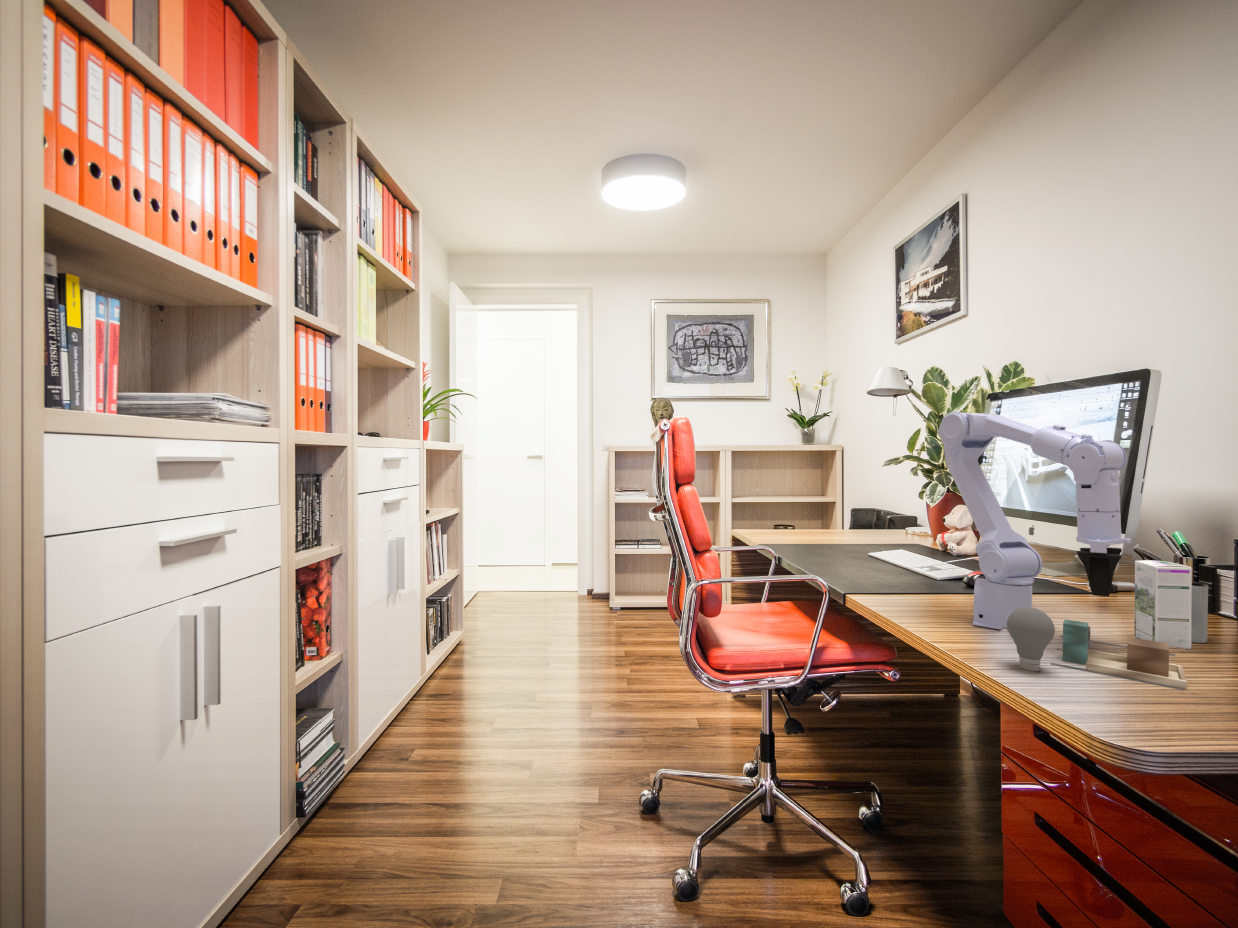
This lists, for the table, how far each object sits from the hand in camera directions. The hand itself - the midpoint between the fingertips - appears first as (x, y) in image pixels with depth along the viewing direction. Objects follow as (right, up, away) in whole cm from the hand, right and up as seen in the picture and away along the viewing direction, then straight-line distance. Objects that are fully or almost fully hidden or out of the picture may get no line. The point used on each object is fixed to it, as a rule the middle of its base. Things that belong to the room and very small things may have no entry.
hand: (1101, 592), depth 98 cm
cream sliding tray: (-5, -10, -8) cm, 14 cm away
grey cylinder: (+24, -11, +9) cm, 27 cm away
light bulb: (-18, -11, -9) cm, 23 cm away
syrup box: (+16, -11, +6) cm, 20 cm away
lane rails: (-2, -10, -5) cm, 12 cm away
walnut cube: (-2, -10, -11) cm, 15 cm away
